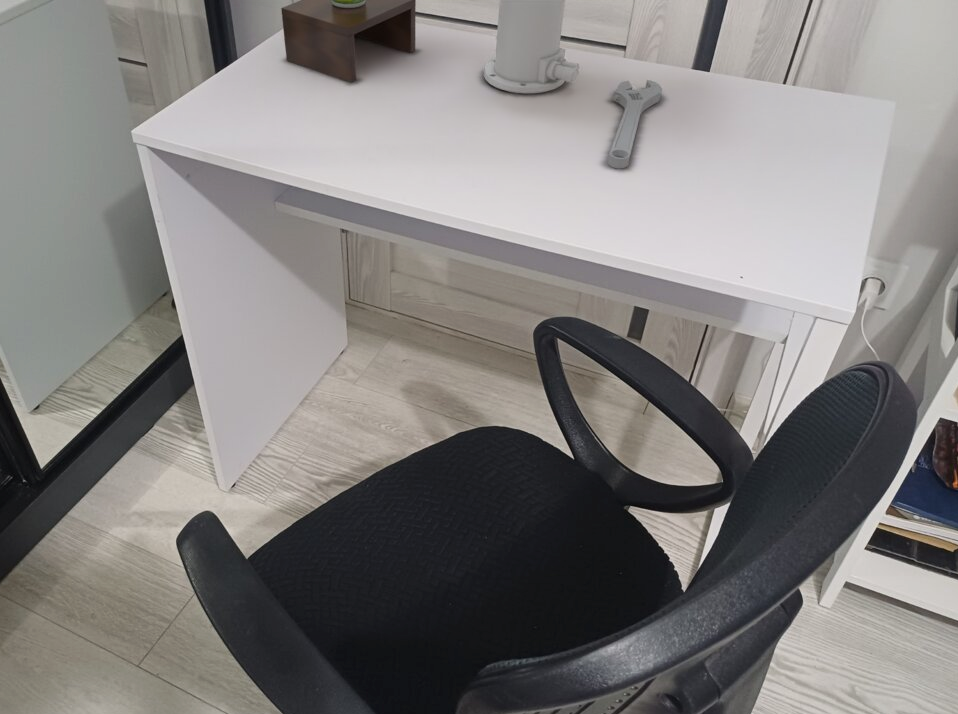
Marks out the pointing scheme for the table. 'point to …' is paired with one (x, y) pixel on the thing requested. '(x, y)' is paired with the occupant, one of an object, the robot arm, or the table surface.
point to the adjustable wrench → (630, 118)
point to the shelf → (344, 32)
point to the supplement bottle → (348, 3)
